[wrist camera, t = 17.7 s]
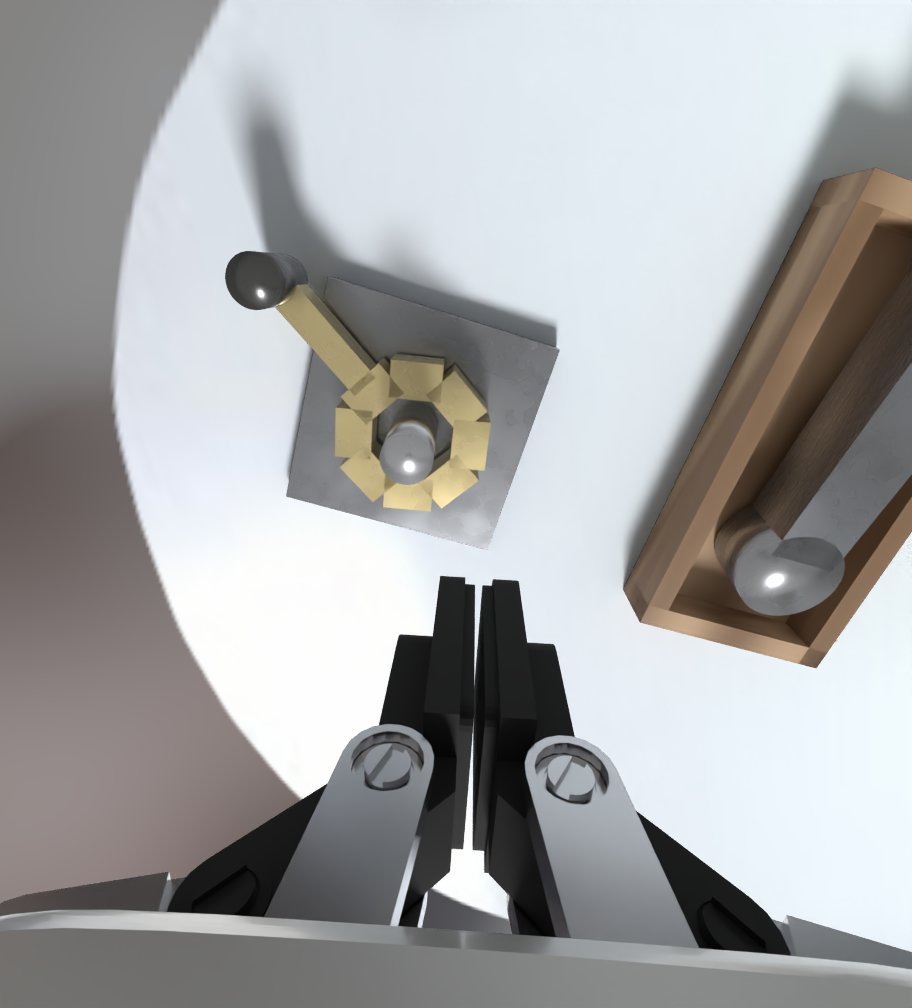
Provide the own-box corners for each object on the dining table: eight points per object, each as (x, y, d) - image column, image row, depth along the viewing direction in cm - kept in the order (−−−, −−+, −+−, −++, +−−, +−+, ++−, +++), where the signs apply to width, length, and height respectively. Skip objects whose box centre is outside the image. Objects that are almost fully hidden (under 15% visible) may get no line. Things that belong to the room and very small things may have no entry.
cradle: (1027, 256, 27) (1105, 254, 24) (783, 632, 36) (816, 668, 32) (823, 180, 26) (875, 167, 22) (622, 589, 34) (640, 622, 31)
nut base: (556, 347, 29) (582, 367, 23) (486, 542, 33) (492, 602, 27) (332, 276, 27) (296, 278, 21) (291, 489, 32) (252, 540, 26)
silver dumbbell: (939, 191, 23) (1009, 192, 20) (1045, 230, 23) (1130, 237, 20) (698, 563, 33) (719, 602, 30) (776, 584, 33) (805, 625, 30)
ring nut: (514, 439, 29) (524, 466, 25) (408, 520, 31) (400, 557, 27) (325, 202, 25) (299, 188, 21) (214, 313, 27) (170, 321, 23)
